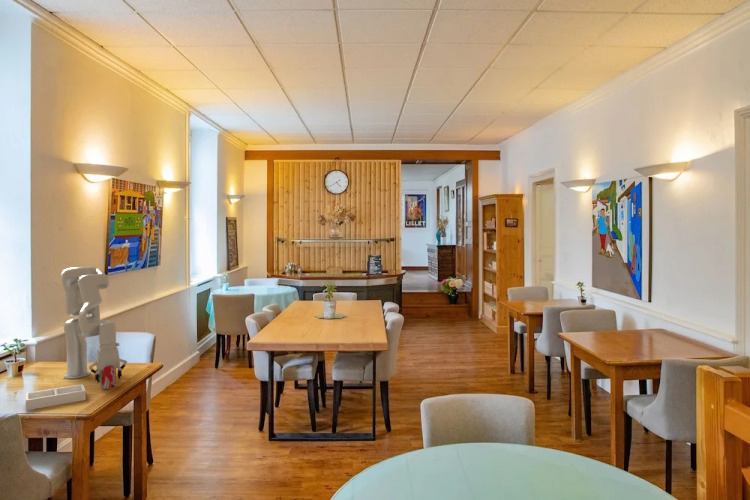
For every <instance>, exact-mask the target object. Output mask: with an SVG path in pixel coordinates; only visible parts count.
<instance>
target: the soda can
mask: <svg viewBox="0 0 750 500" xmlns="http://www.w3.org/2000/svg"><path fill="white" fill-rule="evenodd" d="M100 373H101V382H100V387H101V389H103V390H110V389H114V388H115V387H116V386H117V368H115V367H113V366H112V365H110V366H105V368H104V369H103V370H101V371H100Z"/></svg>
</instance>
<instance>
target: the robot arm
mask: <svg viewBox="0 0 750 500" xmlns="http://www.w3.org/2000/svg"><path fill="white" fill-rule="evenodd" d="M60 281H61V285H62V287H63V289H64V293H65V295H64V297H65V311H66V315H68V316H70V317H76V318H70V319H68V320H66V321H65V323H64V325H63V331H64V332H63V333H64V337H65V342H66V343H65V345H66V347H65V348H66V373H65V374H63V378H65V379H69V380H72V379H74V380H75V379H80V378H85V377H88V376H90V375H91V373H92V374H94V375H95V376H94V379H95V381H96V382H97V383H100V381H99V374H98V373H99V372H100V370H103V369H104V368H105V366H110V365H112V366H113V367H115V368H116V369H118V370H117V378H118V379H119V380H121V378H122V377H123V376H122V374H123V373H122V371H123V370H124V369H125V367H126V365H127V364H128V361H127V360H125V359H122V358H120V352H119V349H118V346H120V342H117V334H116V333H117V331H116V330H117V328H116V323H115V322H114V321H111V320H109V319H101V313H100V304H102V302H103V299H102V296H101V293H100V290H105V289H108V288H109V285H110V282H109V278H108V276H107V274H106V273H105V272H103V271H102V270H101V269H100V268H98V267H96V266H77V267H68V268H66V269H63V270H62V272H61V275H60ZM82 336H83V337H82ZM97 336H98V345H99V349H97V351H96V361H95V362H93V363H91V364H89V366H88V346H87V340H85V338H90V337H97ZM84 337H85V338H84ZM120 363H122V365H120ZM94 367H96V369H94ZM88 369H89V370H88Z"/></svg>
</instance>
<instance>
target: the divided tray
mask: <svg viewBox="0 0 750 500" xmlns="http://www.w3.org/2000/svg"><path fill="white" fill-rule="evenodd" d="M86 398H87V397H86V388H85V386H84V384H83V383H81V384H75V385H74V384H73V385H68V386H63V387H56V388H55V387H54V388H50V389H44V390H43V389H42V390H37V391H30V392H26V393H25V410H26V411H31V410H35V409H36V408H37V409H41V408H42V409H43V408H47V407H53V406H58V405H65V404H70V403H76V402H82V401H86Z"/></svg>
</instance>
